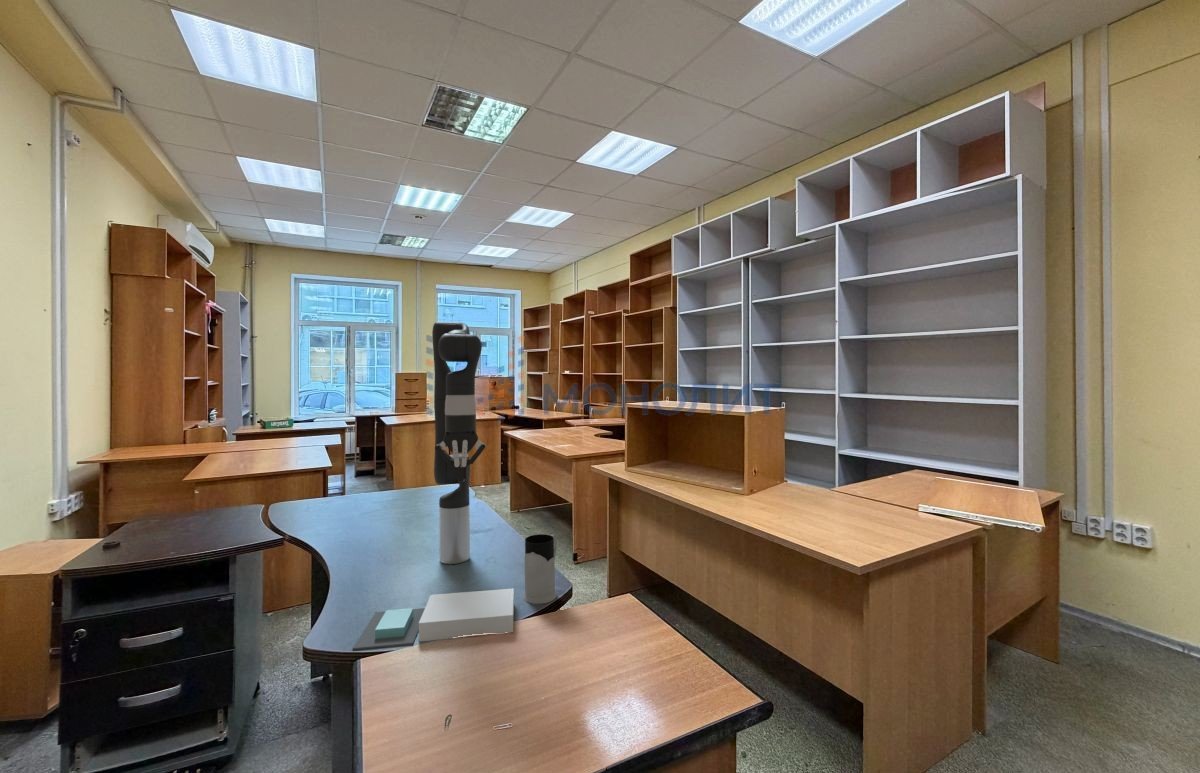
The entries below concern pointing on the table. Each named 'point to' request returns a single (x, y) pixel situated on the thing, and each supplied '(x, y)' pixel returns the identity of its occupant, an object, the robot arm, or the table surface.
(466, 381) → the robot arm
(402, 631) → the teal rectangular box
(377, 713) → the table surface
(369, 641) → the mat
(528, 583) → the glass holder
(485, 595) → the plate
